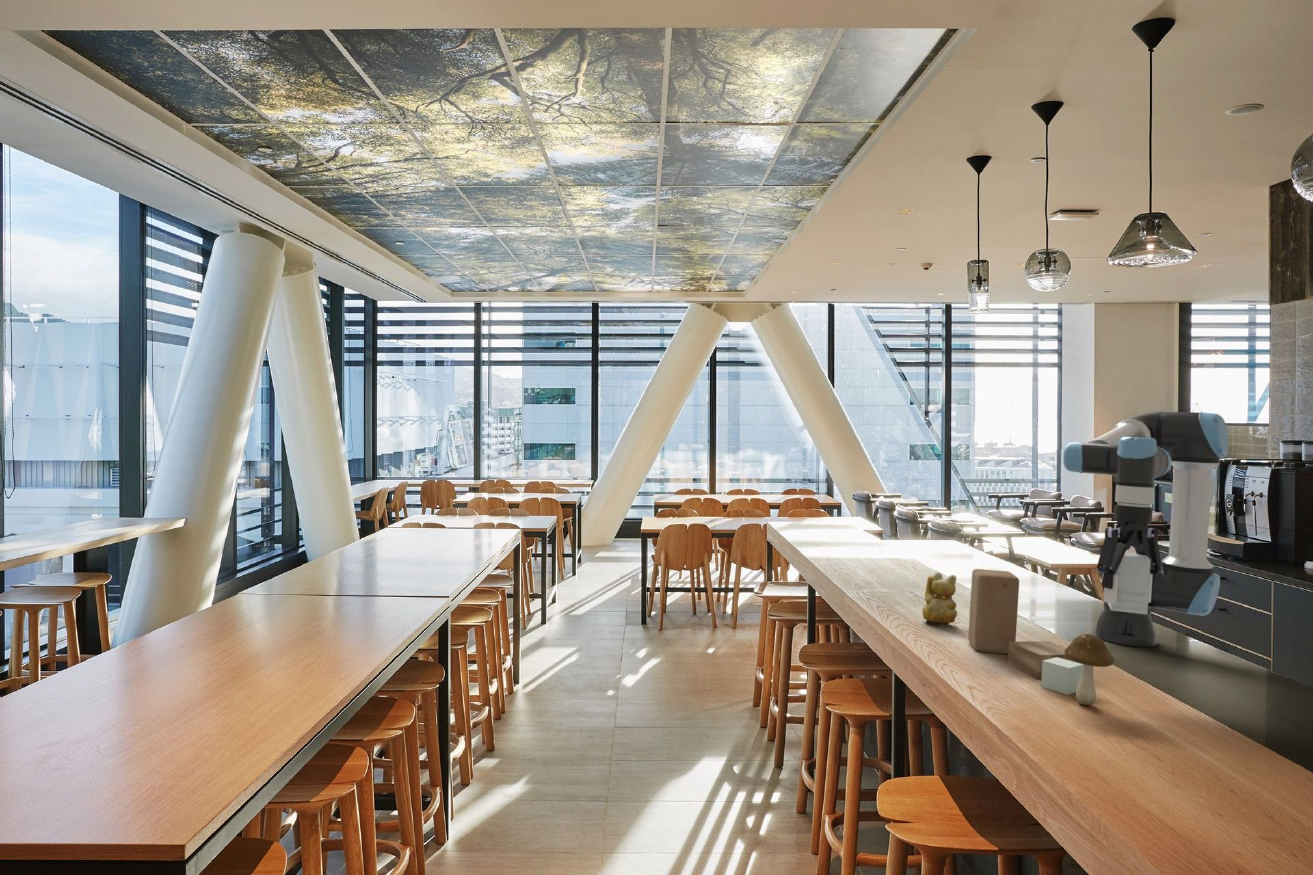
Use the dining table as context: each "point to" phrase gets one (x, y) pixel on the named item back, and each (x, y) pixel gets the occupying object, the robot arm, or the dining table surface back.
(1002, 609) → the wooden block
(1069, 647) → the mushroom
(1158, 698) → the dining table surface
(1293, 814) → the dining table surface
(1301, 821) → the dining table surface
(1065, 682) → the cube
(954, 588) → the decorative figurine
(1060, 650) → the base block
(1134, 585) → the supplement box
